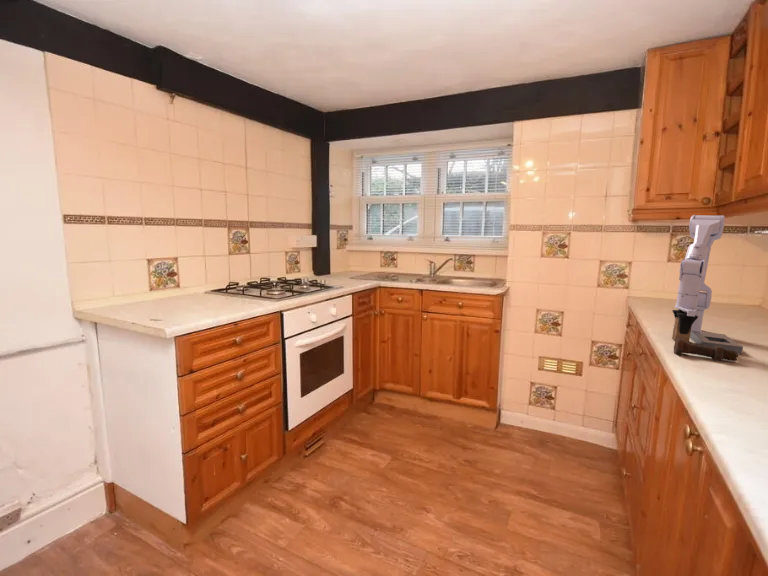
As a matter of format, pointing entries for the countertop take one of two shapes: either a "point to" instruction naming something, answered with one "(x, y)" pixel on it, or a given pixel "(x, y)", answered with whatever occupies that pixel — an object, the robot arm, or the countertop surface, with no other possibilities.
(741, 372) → the countertop surface
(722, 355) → the bolt
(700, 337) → the collar plate
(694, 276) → the robot arm
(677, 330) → the pin
